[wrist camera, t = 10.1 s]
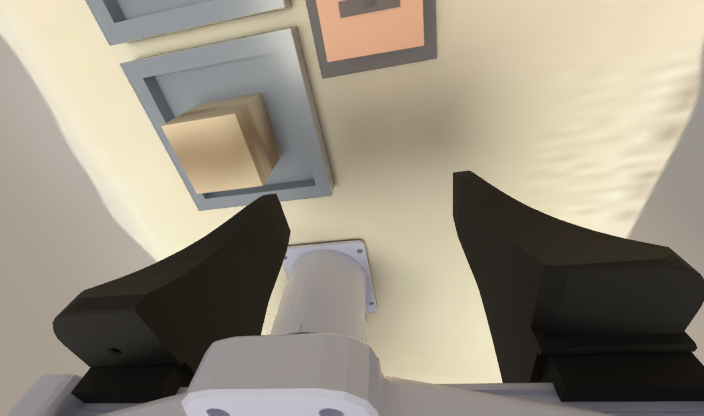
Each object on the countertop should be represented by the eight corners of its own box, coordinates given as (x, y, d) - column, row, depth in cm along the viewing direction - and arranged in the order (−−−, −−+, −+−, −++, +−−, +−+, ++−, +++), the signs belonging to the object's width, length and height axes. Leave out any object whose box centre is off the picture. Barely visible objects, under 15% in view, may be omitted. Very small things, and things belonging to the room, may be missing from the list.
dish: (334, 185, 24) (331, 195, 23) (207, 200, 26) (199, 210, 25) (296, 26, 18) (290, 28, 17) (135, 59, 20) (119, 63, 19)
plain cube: (281, 155, 23) (262, 185, 19) (225, 163, 23) (196, 193, 20) (261, 92, 20) (234, 113, 17) (199, 103, 21) (160, 126, 17)
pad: (435, 56, 19) (436, 58, 18) (323, 76, 20) (322, 78, 19) (431, -101, 15) (432, -105, 14) (293, -66, 16) (290, -68, 16)
